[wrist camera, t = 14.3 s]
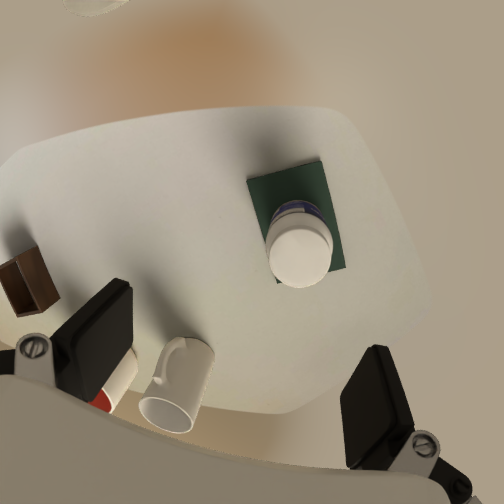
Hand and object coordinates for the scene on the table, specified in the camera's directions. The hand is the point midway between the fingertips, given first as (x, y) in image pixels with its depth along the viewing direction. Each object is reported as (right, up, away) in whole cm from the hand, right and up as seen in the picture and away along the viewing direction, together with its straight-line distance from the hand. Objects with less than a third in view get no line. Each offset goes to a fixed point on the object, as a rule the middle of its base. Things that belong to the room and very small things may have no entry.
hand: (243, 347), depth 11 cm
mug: (-8, -9, +29) cm, 31 cm away
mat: (+5, +6, +21) cm, 22 cm away
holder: (-37, -1, +30) cm, 48 cm away
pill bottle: (+5, +6, +20) cm, 22 cm away
